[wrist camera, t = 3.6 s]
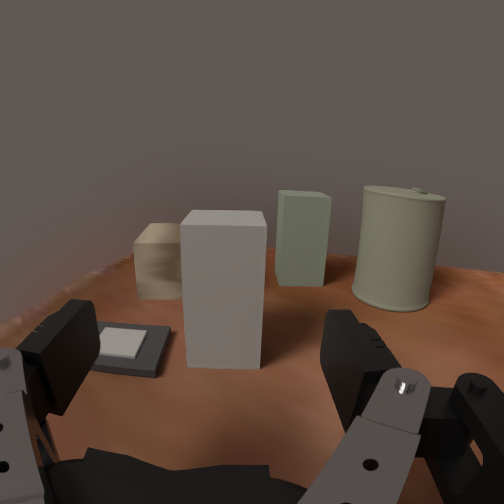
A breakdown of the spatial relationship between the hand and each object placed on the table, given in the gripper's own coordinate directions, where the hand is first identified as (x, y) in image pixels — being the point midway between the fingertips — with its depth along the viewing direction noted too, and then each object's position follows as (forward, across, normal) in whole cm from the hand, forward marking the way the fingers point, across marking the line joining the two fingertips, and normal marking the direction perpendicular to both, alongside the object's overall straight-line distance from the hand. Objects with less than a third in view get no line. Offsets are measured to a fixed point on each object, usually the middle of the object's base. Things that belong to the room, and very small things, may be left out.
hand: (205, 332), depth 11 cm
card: (+11, +8, +8) cm, 16 cm away
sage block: (+26, -8, +8) cm, 29 cm away
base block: (+25, +5, +8) cm, 26 cm away
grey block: (+12, 0, +8) cm, 14 cm away
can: (+22, -18, +8) cm, 29 cm away
